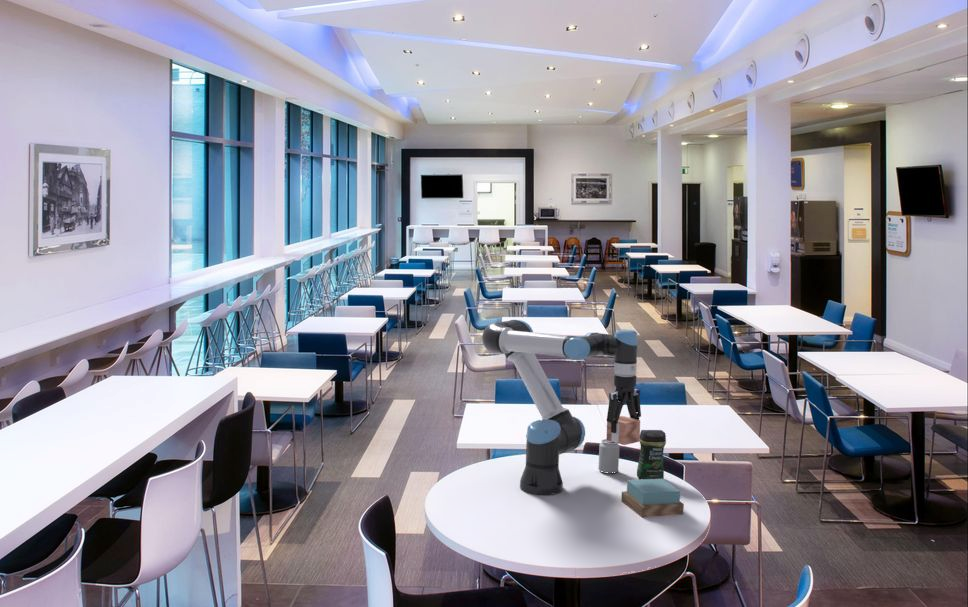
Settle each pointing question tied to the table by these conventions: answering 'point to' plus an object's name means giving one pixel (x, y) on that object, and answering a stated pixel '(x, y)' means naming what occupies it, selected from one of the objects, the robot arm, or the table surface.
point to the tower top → (653, 491)
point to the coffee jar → (651, 454)
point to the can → (608, 456)
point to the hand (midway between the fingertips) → (623, 439)
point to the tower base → (651, 507)
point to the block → (626, 430)
